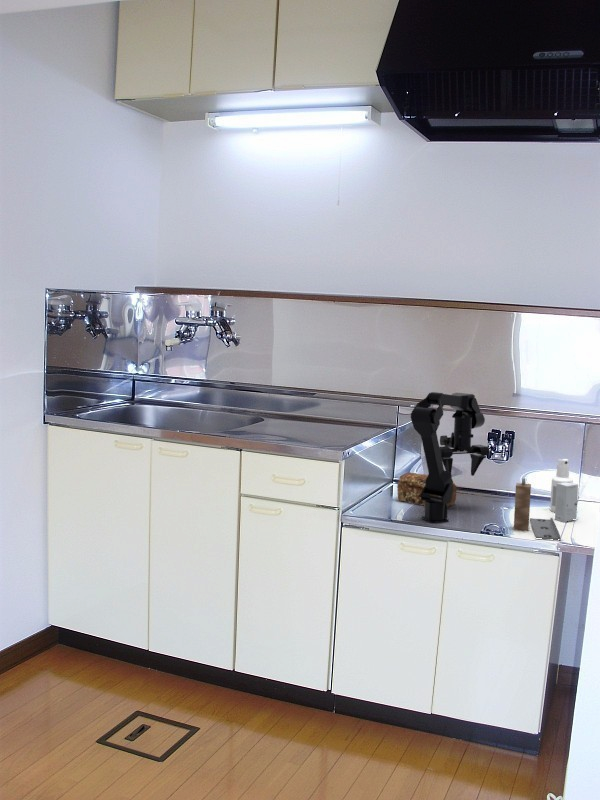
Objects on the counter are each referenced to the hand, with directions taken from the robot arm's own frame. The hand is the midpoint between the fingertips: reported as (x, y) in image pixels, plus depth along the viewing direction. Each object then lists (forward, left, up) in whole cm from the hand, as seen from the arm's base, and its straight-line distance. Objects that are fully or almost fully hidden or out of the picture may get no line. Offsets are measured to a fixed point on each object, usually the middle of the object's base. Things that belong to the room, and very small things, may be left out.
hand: (460, 476), depth 279 cm
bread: (-5, +14, -12) cm, 19 cm away
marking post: (+7, -25, -12) cm, 29 cm away
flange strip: (+13, -29, -12) cm, 34 cm away
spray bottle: (+34, -10, -12) cm, 37 cm away
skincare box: (+28, -20, -12) cm, 36 cm away
